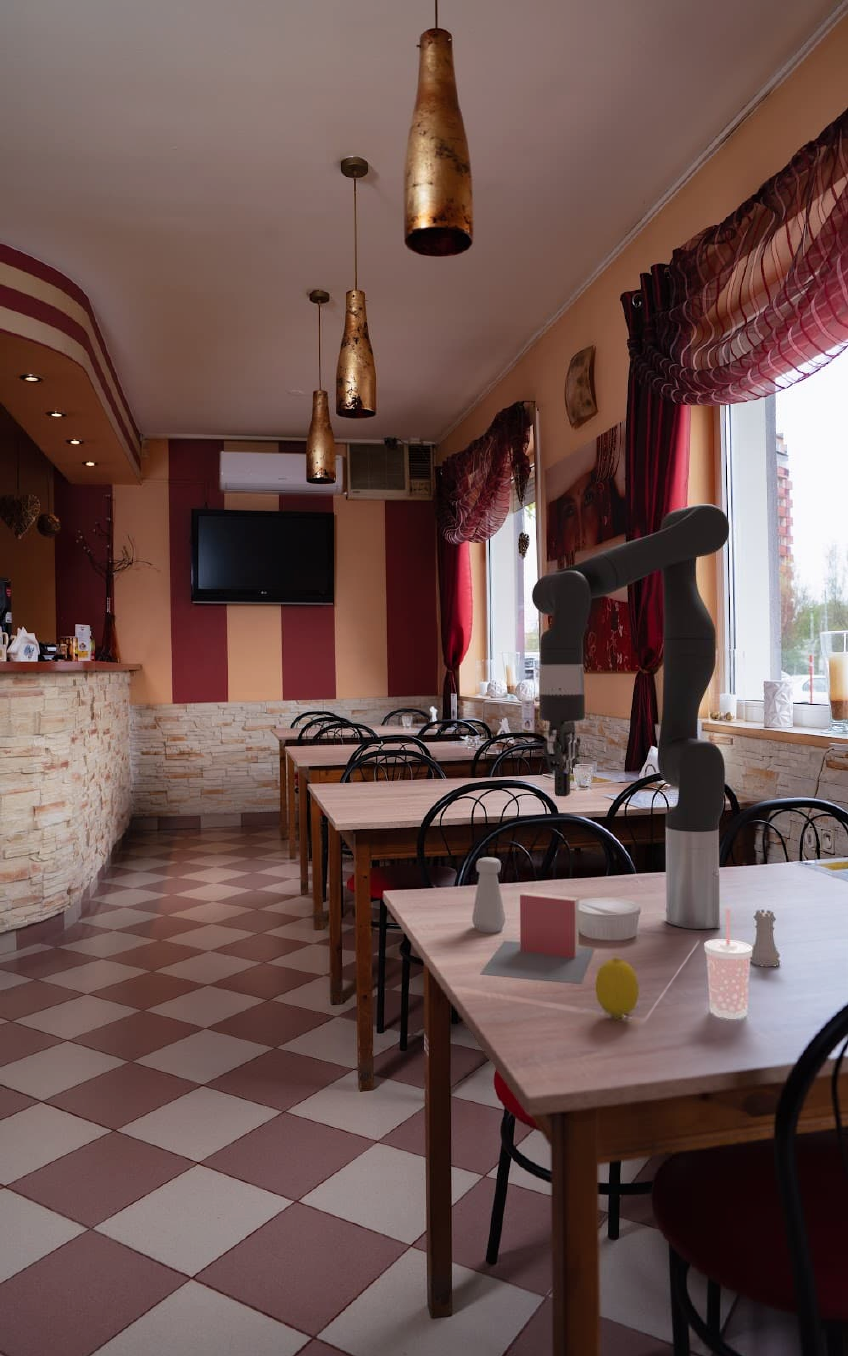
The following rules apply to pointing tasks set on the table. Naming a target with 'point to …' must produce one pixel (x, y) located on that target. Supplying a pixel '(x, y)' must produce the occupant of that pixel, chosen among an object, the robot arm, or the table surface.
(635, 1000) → the lemon
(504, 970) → the slate mat
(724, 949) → the beverage cup
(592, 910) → the ramekin
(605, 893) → the table surface
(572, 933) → the tile
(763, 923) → the rook chess piece
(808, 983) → the table surface
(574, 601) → the robot arm
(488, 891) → the salt shaker
